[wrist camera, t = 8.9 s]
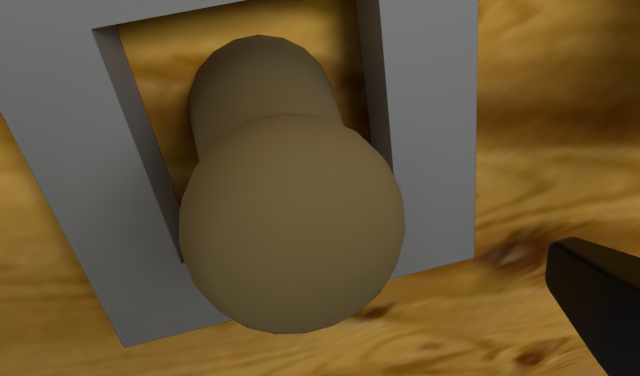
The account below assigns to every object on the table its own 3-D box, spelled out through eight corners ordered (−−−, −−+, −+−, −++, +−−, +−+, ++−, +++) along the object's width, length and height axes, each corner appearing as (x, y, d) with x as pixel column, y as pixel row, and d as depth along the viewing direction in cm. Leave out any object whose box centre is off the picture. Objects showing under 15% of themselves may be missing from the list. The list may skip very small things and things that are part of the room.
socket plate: (437, -154, 16) (480, -178, 13) (445, 224, 23) (474, 257, 21) (-43, -78, 14) (-104, -88, 11) (136, 301, 22) (124, 347, 19)
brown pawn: (284, 197, 21) (336, 403, 11) (161, 132, 18) (90, 324, 9) (361, 88, 19) (503, 219, 9) (238, 1, 17) (257, 55, 7)
